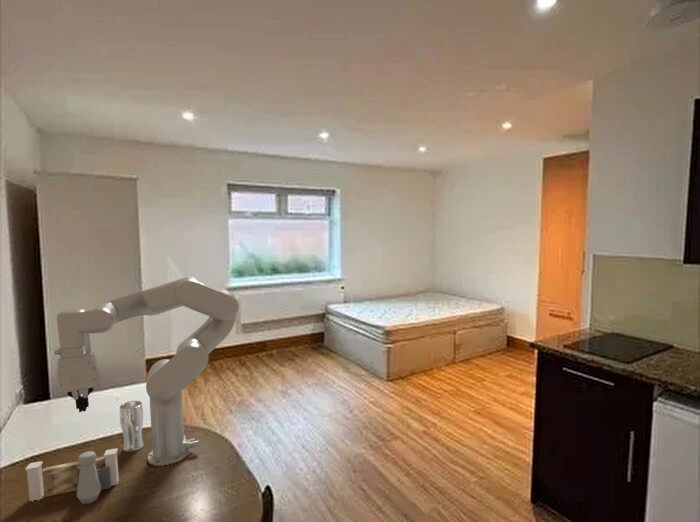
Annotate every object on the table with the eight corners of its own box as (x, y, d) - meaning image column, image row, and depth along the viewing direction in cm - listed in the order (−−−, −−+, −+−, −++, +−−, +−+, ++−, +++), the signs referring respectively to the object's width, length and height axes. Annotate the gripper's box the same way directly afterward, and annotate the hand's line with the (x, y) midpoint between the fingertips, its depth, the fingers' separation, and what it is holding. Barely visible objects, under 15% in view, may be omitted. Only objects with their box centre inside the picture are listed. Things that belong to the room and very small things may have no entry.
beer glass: (129, 455, 135) (126, 411, 133) (117, 449, 138) (114, 406, 137) (149, 445, 141) (146, 403, 139) (137, 440, 144) (134, 398, 143)
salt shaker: (71, 504, 111) (68, 458, 110) (89, 491, 116) (85, 447, 115) (90, 507, 110) (87, 460, 109) (107, 493, 115) (103, 449, 114)
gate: (44, 495, 113) (41, 471, 113) (45, 492, 115) (43, 467, 114) (106, 482, 119) (104, 458, 118) (107, 479, 121) (105, 455, 120)
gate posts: (119, 479, 122) (117, 448, 121) (116, 487, 118) (114, 455, 117) (32, 495, 115) (29, 463, 114) (26, 505, 111) (23, 471, 110)
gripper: (42, 359, 115) (50, 421, 117) (103, 349, 122) (110, 408, 124) (48, 352, 122) (55, 411, 124) (106, 343, 128) (112, 399, 130)
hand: (83, 409), depth 124 cm, fingers closed
